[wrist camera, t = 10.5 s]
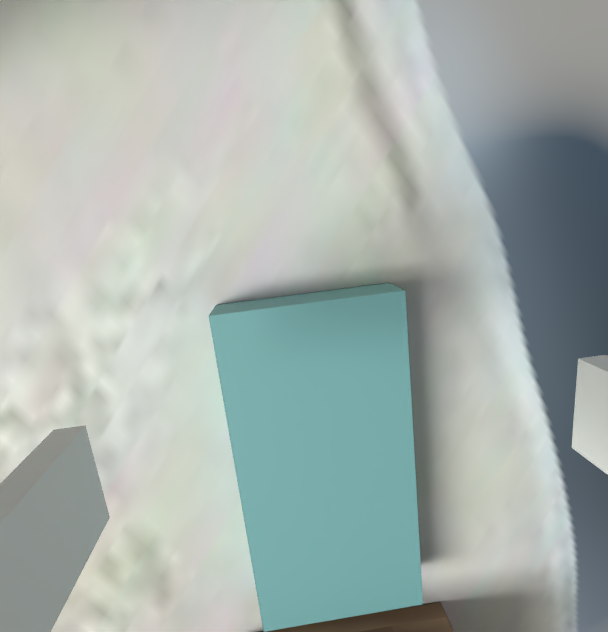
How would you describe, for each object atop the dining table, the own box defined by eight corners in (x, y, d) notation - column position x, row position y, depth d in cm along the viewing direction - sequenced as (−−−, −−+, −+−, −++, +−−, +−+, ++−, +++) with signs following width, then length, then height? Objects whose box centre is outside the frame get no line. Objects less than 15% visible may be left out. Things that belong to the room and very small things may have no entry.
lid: (217, 303, 21) (208, 316, 18) (386, 281, 21) (405, 290, 18) (264, 584, 25) (263, 631, 22) (405, 560, 25) (422, 604, 23)
